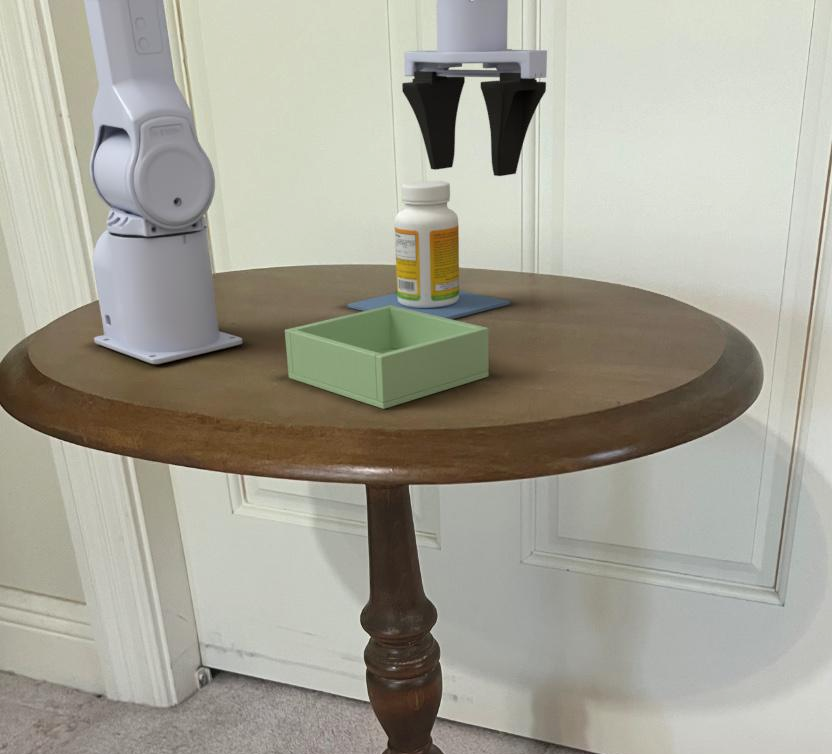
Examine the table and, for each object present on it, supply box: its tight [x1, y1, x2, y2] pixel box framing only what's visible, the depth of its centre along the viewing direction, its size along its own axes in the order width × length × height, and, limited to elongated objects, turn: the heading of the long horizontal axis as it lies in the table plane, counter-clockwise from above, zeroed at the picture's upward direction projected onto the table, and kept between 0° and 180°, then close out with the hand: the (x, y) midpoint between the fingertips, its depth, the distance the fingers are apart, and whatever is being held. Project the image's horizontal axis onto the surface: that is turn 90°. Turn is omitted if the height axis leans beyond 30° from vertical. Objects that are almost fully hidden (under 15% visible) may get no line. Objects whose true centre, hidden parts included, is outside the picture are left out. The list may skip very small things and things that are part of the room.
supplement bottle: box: [394, 180, 460, 308], centre depth 92 cm, size 5×5×10 cm
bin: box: [284, 305, 490, 410], centre depth 75 cm, size 10×10×3 cm
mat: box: [347, 290, 510, 320], centre depth 94 cm, size 10×10×1 cm
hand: (472, 171), depth 93 cm, fingers open, 7 cm apart
